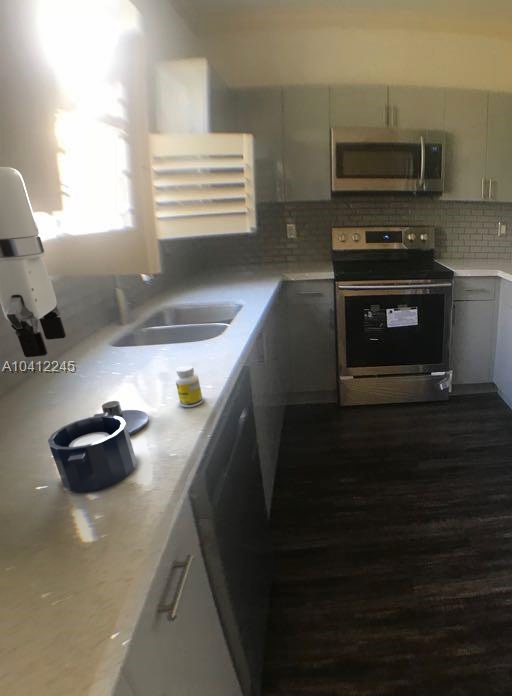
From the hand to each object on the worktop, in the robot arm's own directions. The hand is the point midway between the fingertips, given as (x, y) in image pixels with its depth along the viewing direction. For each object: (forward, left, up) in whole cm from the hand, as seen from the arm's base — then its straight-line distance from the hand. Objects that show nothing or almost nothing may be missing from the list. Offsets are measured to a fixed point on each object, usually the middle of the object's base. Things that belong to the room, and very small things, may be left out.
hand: (46, 346), depth 82 cm
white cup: (+3, -2, -26) cm, 26 cm away
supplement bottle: (+18, +25, -26) cm, 41 cm away
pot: (+3, -2, -26) cm, 27 cm away
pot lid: (+2, +17, -26) cm, 31 cm away
